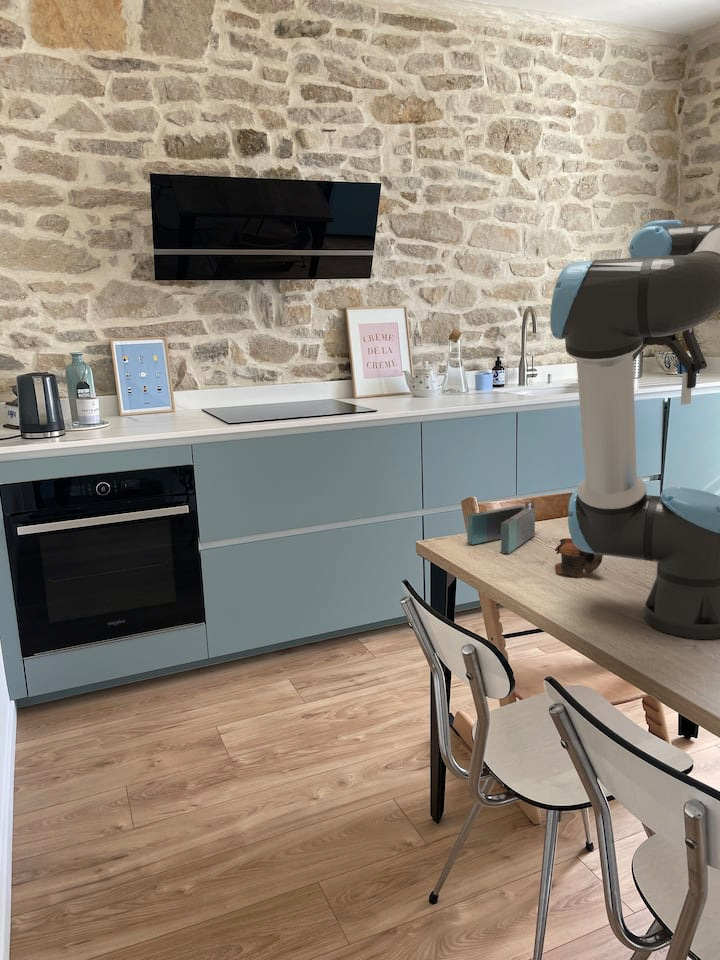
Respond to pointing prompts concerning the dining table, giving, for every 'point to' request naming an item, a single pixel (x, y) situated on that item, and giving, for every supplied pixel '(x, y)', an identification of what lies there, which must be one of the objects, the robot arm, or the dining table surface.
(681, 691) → the dining table surface
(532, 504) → the pivot post
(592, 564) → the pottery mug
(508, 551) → the right tong arm
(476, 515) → the left tong arm
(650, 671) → the dining table surface
